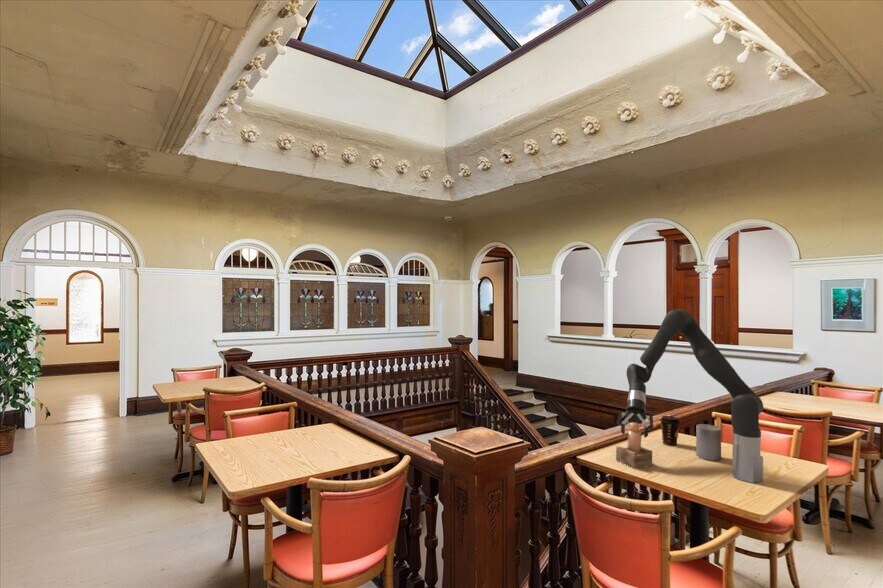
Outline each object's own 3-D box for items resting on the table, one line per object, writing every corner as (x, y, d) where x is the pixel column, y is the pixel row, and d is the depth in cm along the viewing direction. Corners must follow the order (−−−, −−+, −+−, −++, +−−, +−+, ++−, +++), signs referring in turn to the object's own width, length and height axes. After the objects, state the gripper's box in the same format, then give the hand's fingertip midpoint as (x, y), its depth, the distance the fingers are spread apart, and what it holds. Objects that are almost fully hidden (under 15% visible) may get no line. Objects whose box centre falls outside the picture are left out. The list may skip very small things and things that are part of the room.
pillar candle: (710, 453, 211) (710, 420, 211) (726, 461, 201) (726, 426, 201) (691, 454, 210) (691, 421, 210) (705, 461, 200) (705, 427, 200)
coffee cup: (675, 441, 227) (676, 415, 227) (682, 447, 219) (683, 420, 219) (657, 441, 228) (657, 414, 228) (663, 446, 220) (664, 419, 220)
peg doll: (643, 452, 194) (644, 424, 195) (634, 454, 192) (635, 425, 193) (634, 448, 199) (634, 421, 199) (624, 450, 197) (625, 422, 197)
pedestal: (652, 465, 193) (652, 451, 193) (634, 468, 189) (634, 453, 189) (633, 458, 202) (633, 443, 202) (616, 460, 198) (616, 446, 198)
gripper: (619, 396, 206) (615, 428, 196) (654, 400, 200) (652, 433, 189) (619, 405, 211) (616, 437, 200) (654, 409, 204) (652, 442, 194)
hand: (634, 435), depth 195 cm, fingers open, 8 cm apart
